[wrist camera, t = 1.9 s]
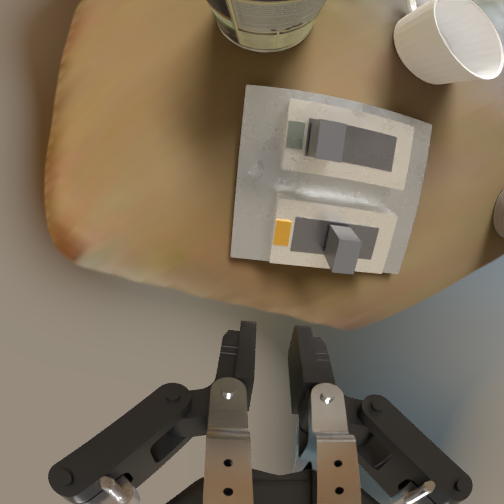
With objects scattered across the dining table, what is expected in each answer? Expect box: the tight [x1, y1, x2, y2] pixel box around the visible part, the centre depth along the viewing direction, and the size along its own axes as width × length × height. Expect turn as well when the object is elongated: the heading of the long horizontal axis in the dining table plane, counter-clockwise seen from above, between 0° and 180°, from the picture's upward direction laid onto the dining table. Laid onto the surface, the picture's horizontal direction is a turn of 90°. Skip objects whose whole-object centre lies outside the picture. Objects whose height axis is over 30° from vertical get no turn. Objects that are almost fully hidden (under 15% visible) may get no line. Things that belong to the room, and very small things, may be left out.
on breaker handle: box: [308, 119, 347, 163], centre depth 21 cm, size 2×3×4 cm, turn 174°
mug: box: [394, 0, 504, 85], centre depth 16 cm, size 12×9×9 cm
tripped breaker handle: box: [324, 225, 362, 275], centre depth 24 cm, size 2×3×4 cm, turn 174°
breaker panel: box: [231, 85, 432, 274], centre depth 27 cm, size 20×18×5 cm
